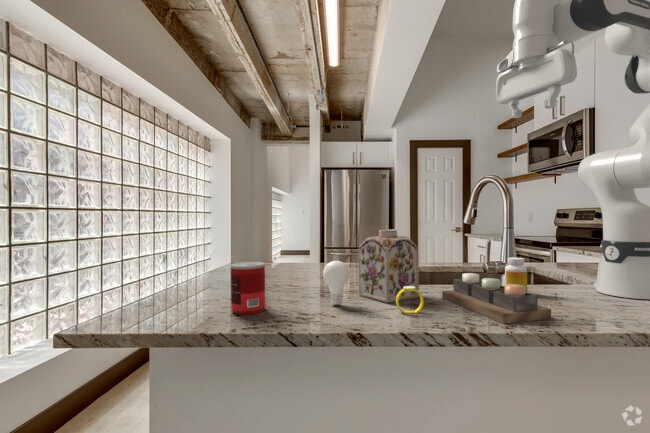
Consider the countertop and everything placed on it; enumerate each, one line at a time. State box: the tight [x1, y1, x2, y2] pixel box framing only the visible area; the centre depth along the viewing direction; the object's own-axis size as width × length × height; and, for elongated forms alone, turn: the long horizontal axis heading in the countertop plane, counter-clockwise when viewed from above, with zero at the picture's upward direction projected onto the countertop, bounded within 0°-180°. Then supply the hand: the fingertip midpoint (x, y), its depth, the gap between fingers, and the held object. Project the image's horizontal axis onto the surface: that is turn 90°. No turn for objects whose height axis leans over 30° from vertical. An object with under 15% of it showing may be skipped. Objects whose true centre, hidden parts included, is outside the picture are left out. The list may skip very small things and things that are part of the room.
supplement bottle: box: [504, 256, 528, 293], centre depth 102 cm, size 5×5×10 cm
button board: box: [441, 278, 552, 325], centre depth 88 cm, size 12×22×5 cm, turn 15°
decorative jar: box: [357, 228, 420, 304], centre depth 101 cm, size 12×12×18 cm
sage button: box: [481, 277, 501, 289], centre depth 88 cm, size 4×4×3 cm
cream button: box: [461, 272, 480, 283], centre depth 96 cm, size 4×4×3 cm
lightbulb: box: [322, 260, 350, 307], centre depth 92 cm, size 6×6×11 cm
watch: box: [395, 286, 425, 315], centre depth 85 cm, size 6×3×6 cm, turn 89°
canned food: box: [230, 261, 266, 316], centre depth 89 cm, size 8×8×11 cm
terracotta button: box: [504, 284, 525, 297], centre depth 81 cm, size 4×4×3 cm
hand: (532, 112), depth 91 cm, fingers open, 8 cm apart
